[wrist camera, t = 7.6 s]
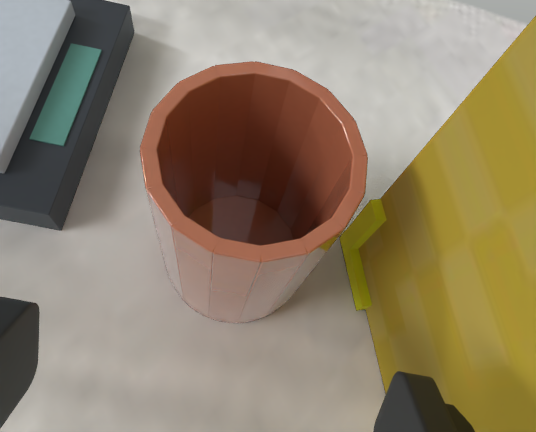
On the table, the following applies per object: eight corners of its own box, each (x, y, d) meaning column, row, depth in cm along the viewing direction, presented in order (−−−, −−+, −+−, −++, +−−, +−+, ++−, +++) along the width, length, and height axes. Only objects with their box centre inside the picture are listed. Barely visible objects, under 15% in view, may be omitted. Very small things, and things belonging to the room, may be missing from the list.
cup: (150, 308, 21) (111, 233, 12) (184, 181, 24) (172, 42, 15) (293, 335, 22) (358, 281, 13) (309, 207, 24) (373, 86, 15)
